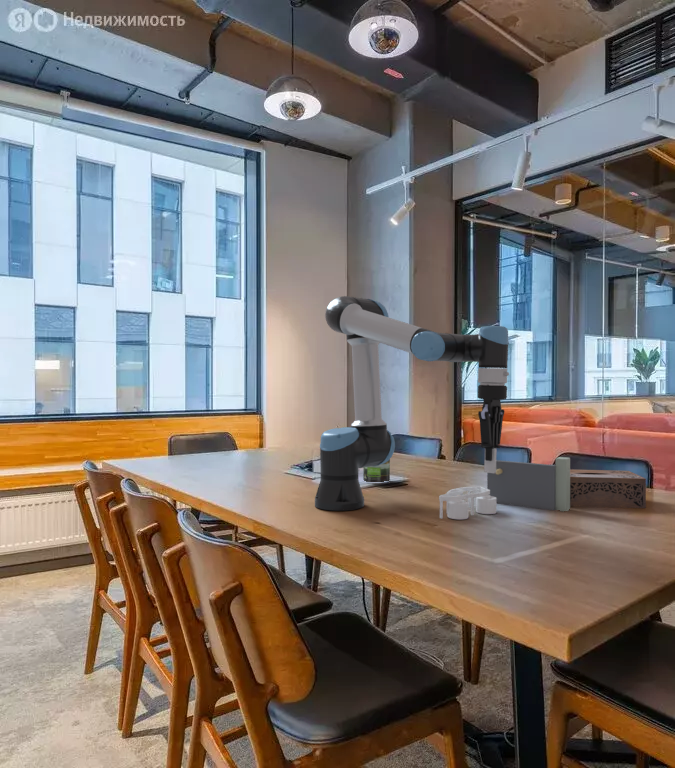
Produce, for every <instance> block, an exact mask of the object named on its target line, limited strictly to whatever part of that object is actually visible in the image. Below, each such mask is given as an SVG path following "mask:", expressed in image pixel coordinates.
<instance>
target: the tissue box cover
mask: <svg viewBox="0 0 675 768" xmlns="http://www.w3.org/2000/svg"><path fill="white" fill-rule="evenodd" d="M646 502H647V478H645V477H642V475H638V474H637V473H634V472H632V471H630V470H616V469H615V470H613V469H607V470H606V469H602V470H601V469H570V507H584V506H590V507H591V508H592V507H593V508H620V509H621V508H623V509H625V508H627V509H628V508H630V509H646V508H647V507H646V506H647V504H646ZM590 507H589V508H590Z"/></svg>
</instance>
